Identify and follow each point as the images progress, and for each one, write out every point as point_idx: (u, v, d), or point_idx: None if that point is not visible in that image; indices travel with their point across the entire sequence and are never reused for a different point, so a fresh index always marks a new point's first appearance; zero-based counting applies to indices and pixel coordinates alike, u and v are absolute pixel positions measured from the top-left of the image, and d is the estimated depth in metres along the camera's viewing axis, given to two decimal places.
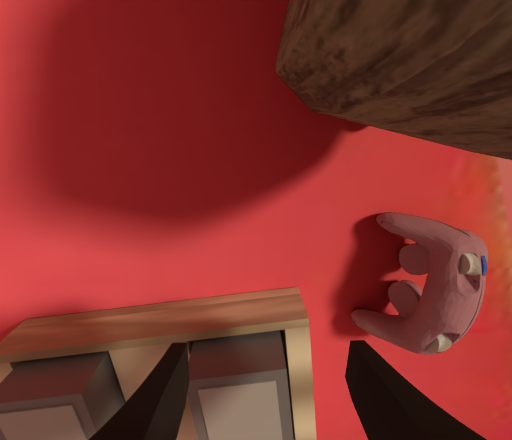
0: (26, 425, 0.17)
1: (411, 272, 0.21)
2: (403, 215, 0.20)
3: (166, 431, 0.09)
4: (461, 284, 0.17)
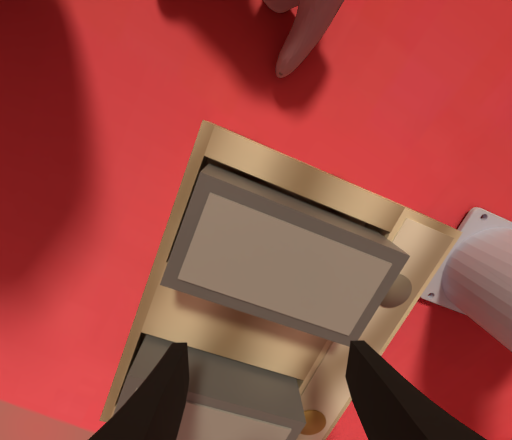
0: None
1: None
2: None
3: (166, 431, 0.09)
4: None
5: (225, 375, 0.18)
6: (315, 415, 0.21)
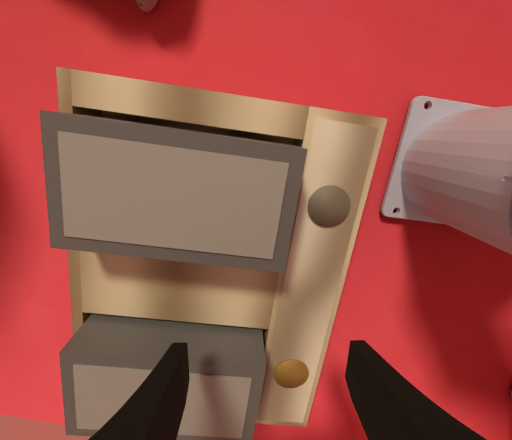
0: (96, 410, 0.16)
1: None
2: None
3: (166, 431, 0.09)
4: None
5: (175, 338, 0.17)
6: (294, 365, 0.19)
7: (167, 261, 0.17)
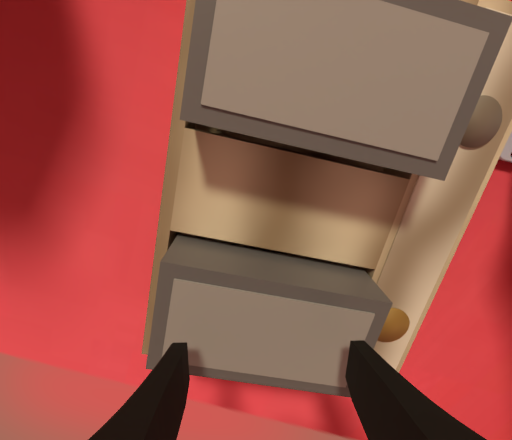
0: (188, 339, 0.13)
1: None
2: None
3: (166, 431, 0.09)
4: None
5: (279, 266, 0.15)
6: (394, 314, 0.17)
7: (279, 174, 0.14)
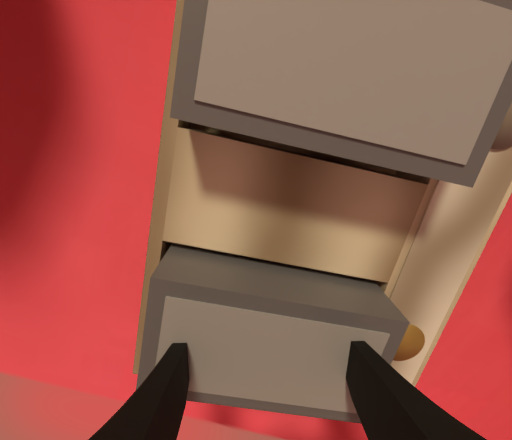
0: None
1: None
2: None
3: (166, 431, 0.09)
4: None
5: (283, 279, 0.13)
6: (408, 331, 0.16)
7: (284, 179, 0.13)
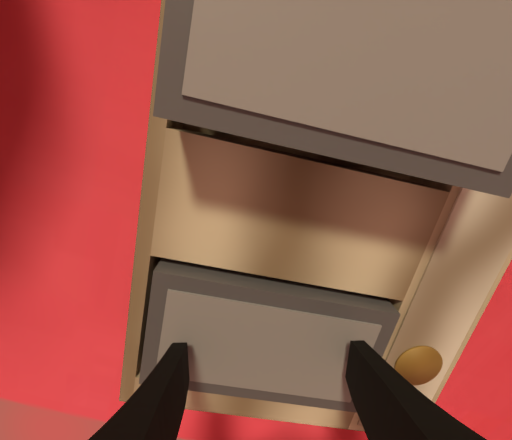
0: None
1: None
2: None
3: (166, 431, 0.09)
4: None
5: None
6: (424, 353, 0.14)
7: (287, 186, 0.11)
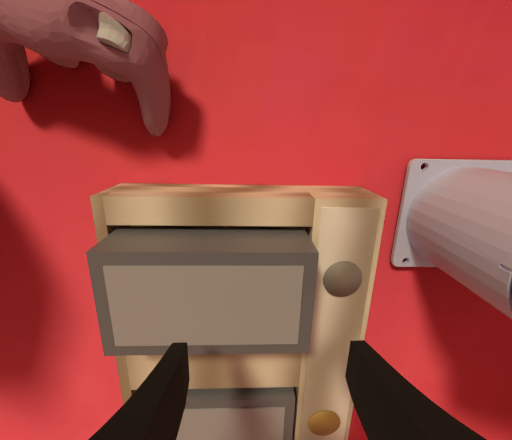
0: None
1: None
2: None
3: (166, 431, 0.09)
4: None
5: None
6: (325, 415, 0.21)
7: None
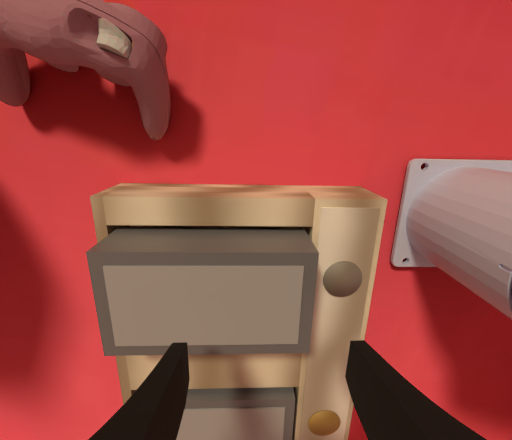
0: None
1: None
2: None
3: (166, 431, 0.09)
4: None
5: None
6: (325, 415, 0.21)
7: None
